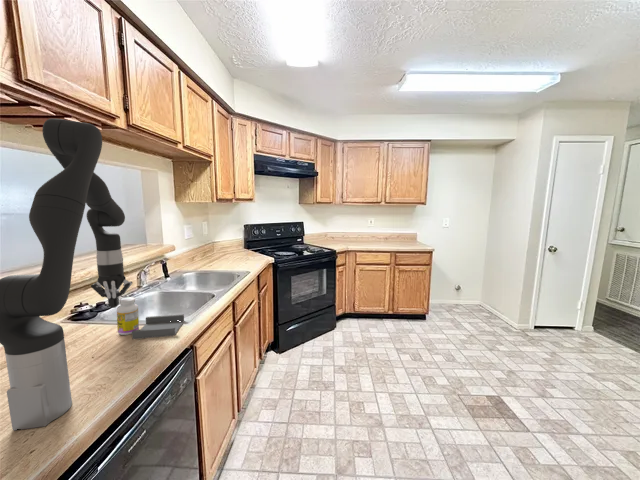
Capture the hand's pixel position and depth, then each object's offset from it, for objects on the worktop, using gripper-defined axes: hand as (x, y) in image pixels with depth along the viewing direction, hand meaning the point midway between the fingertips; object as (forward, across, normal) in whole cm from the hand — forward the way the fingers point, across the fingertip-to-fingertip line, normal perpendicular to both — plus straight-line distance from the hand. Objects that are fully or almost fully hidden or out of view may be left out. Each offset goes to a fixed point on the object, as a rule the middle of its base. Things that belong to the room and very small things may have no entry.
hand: (114, 307), depth 100 cm
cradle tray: (+10, +15, 0) cm, 18 cm away
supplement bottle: (+10, +4, 0) cm, 11 cm away
